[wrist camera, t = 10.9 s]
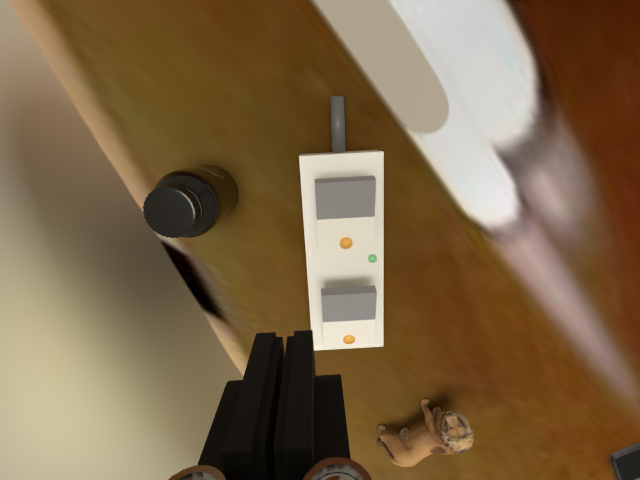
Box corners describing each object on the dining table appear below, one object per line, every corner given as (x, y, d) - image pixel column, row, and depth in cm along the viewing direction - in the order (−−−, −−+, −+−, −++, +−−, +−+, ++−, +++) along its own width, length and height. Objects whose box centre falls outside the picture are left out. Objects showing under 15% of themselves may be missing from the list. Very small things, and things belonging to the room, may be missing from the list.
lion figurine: (438, 377, 50) (464, 426, 42) (460, 397, 51) (489, 449, 43) (366, 432, 53) (376, 490, 44) (388, 450, 54) (402, 510, 46)
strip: (375, 96, 39) (385, 88, 33) (376, 325, 47) (384, 350, 42) (297, 100, 39) (294, 93, 33) (312, 328, 47) (312, 354, 42)
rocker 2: (373, 281, 38) (377, 293, 36) (371, 332, 42) (374, 344, 40) (320, 284, 38) (321, 296, 36) (323, 334, 42) (324, 347, 40)
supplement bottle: (224, 156, 40) (189, 163, 29) (246, 209, 42) (221, 235, 31) (172, 175, 41) (117, 189, 29) (196, 226, 43) (153, 259, 31)
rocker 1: (373, 173, 34) (376, 180, 32) (370, 240, 38) (373, 249, 37) (314, 176, 34) (314, 183, 32) (318, 243, 38) (318, 253, 37)
